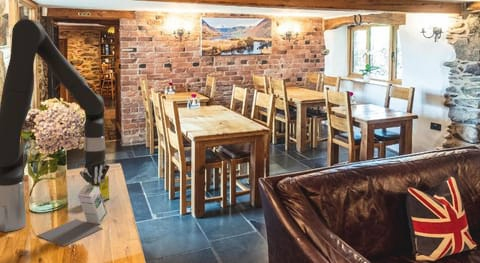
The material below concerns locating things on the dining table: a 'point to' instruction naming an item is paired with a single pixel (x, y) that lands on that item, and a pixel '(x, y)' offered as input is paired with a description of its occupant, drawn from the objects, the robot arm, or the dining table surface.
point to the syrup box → (92, 204)
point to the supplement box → (104, 188)
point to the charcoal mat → (69, 232)
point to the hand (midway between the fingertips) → (95, 191)
